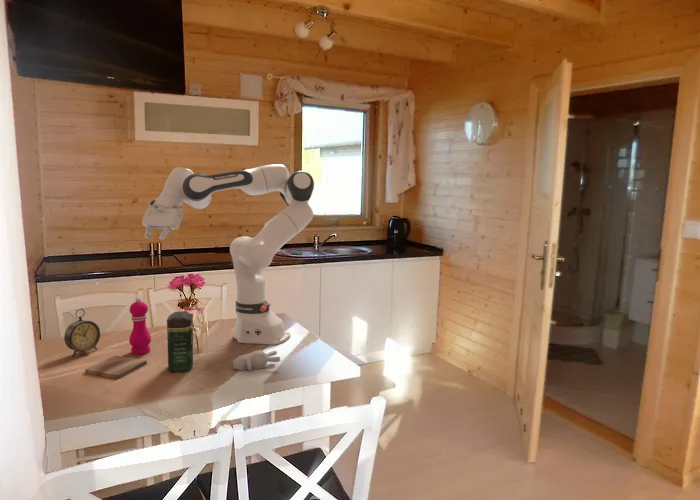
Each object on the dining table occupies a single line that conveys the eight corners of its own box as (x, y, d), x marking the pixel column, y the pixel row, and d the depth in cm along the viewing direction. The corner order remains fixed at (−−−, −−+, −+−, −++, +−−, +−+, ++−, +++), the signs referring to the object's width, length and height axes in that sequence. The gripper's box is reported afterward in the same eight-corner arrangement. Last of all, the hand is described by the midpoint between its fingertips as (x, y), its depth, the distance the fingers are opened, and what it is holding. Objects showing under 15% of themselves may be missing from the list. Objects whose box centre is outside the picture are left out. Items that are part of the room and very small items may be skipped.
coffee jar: (192, 372, 165) (190, 317, 162) (166, 374, 163) (164, 318, 160) (194, 361, 174) (193, 308, 171) (170, 362, 172) (168, 309, 169)
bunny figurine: (231, 353, 172) (274, 344, 176) (233, 367, 173) (276, 357, 177) (234, 363, 163) (280, 353, 168) (236, 378, 164) (282, 367, 169)
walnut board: (146, 363, 171) (146, 360, 171) (118, 378, 159) (118, 375, 159) (115, 358, 175) (115, 355, 175) (85, 373, 163) (85, 369, 162)
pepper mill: (146, 355, 178) (144, 300, 175) (126, 355, 178) (123, 300, 175) (154, 348, 185) (152, 295, 182) (135, 348, 185) (132, 294, 182)
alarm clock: (71, 359, 174) (68, 313, 171) (63, 356, 176) (59, 310, 174) (102, 350, 183) (99, 306, 180) (93, 347, 186) (90, 304, 183)
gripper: (191, 210, 191) (176, 243, 186) (159, 209, 203) (145, 240, 199) (178, 201, 186) (163, 236, 182) (146, 201, 198) (132, 233, 194)
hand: (153, 238), depth 190 cm, fingers open, 8 cm apart
